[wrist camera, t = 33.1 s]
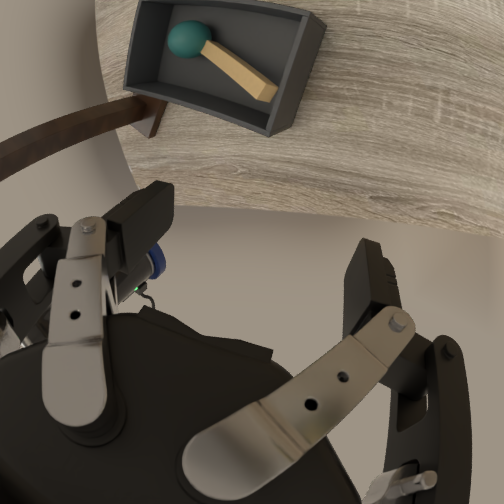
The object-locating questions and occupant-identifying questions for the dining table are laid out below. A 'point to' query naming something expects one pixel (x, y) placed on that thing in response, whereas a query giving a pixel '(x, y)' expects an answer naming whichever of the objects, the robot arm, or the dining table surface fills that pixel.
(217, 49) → the rattle
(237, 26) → the bin
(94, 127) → the stand
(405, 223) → the dining table surface
